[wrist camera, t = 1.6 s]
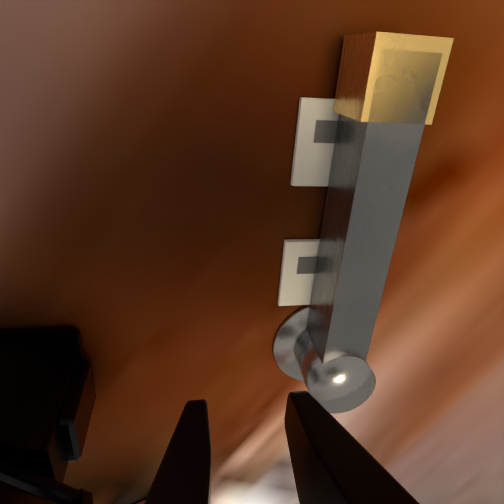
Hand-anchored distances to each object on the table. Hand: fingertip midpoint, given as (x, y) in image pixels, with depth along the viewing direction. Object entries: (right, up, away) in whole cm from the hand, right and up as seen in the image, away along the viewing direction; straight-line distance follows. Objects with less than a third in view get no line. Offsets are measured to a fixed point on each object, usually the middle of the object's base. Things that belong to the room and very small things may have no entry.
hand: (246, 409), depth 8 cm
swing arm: (+5, +4, +12) cm, 14 cm away
